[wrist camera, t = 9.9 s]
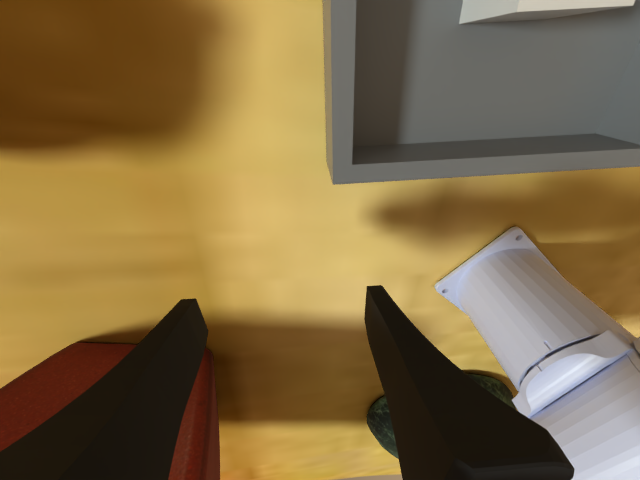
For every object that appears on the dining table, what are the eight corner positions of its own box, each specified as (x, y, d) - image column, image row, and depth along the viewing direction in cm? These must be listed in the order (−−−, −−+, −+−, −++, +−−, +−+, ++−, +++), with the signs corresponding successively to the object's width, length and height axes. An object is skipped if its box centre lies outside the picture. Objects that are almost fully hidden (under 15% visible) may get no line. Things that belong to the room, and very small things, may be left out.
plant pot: (11, 312, 24) (-421, 693, 9) (244, 322, 26) (181, 637, 12) (81, 424, 34) (-76, 689, 20) (245, 424, 36) (210, 659, 22)
